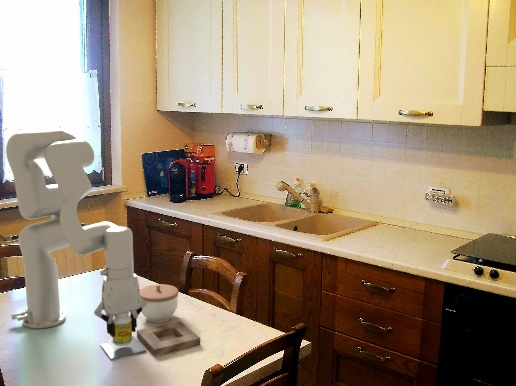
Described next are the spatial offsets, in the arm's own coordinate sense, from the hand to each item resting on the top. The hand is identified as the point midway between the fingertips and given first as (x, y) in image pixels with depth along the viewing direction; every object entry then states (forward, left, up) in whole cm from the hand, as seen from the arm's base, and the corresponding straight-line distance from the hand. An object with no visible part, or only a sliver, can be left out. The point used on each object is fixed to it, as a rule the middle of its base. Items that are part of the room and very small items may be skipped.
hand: (122, 332), depth 160 cm
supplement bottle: (0, 0, -3) cm, 3 cm away
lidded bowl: (+17, +15, -5) cm, 23 cm away
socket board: (+13, -2, -5) cm, 14 cm away
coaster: (0, 0, -5) cm, 5 cm away
